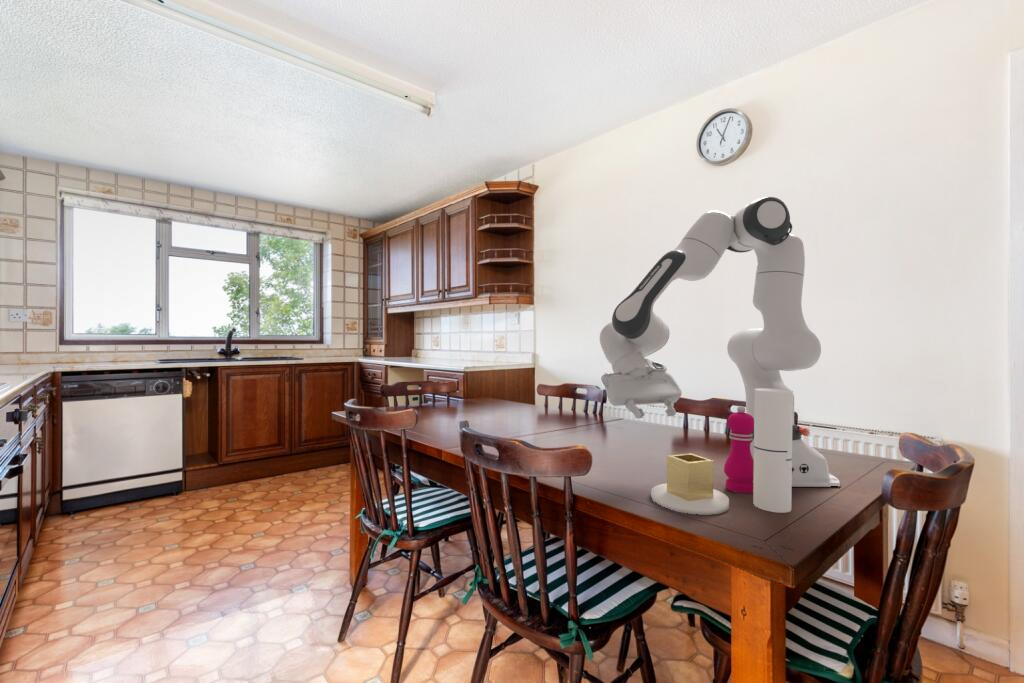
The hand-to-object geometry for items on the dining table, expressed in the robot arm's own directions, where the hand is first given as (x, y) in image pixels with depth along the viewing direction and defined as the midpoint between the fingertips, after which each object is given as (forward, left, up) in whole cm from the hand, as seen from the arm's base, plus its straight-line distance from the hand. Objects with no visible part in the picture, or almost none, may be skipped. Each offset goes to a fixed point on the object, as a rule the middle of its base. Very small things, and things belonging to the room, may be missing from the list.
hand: (656, 415), depth 112 cm
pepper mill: (-20, -1, -17) cm, 26 cm away
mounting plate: (-6, +10, -17) cm, 20 cm away
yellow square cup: (-6, +10, -16) cm, 19 cm away
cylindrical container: (-23, +10, -17) cm, 30 cm away
